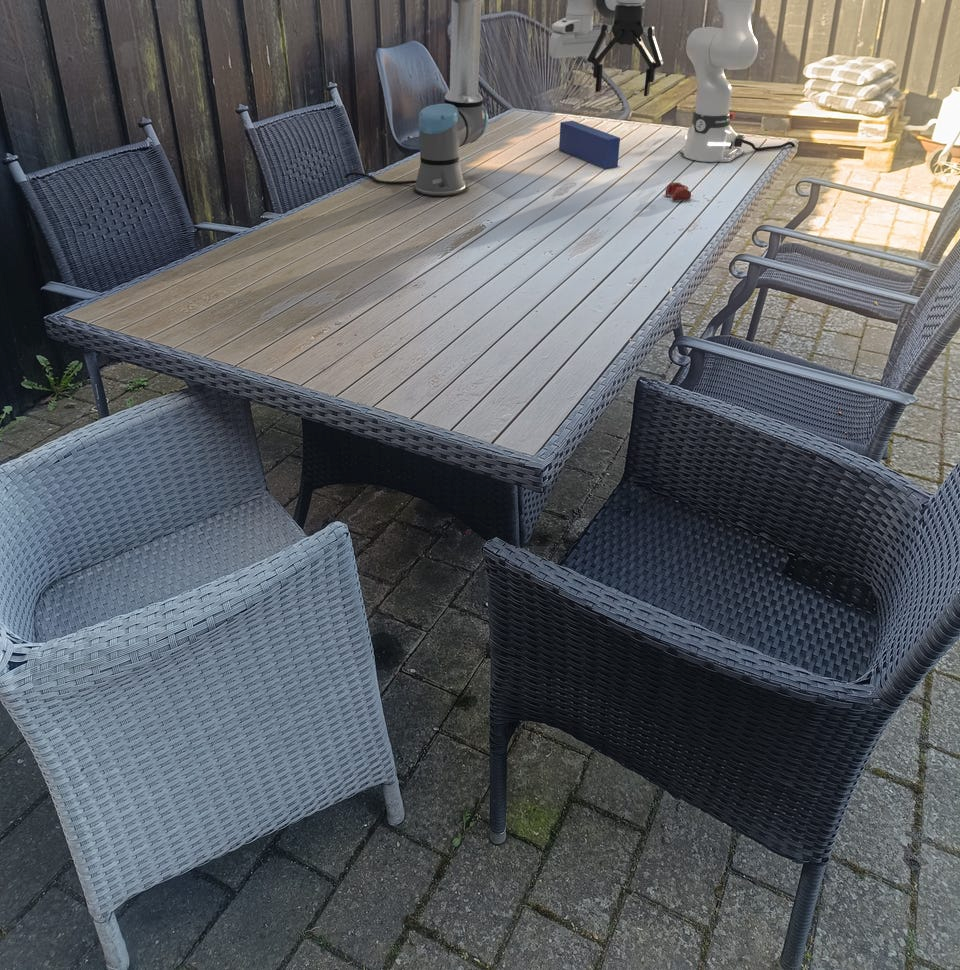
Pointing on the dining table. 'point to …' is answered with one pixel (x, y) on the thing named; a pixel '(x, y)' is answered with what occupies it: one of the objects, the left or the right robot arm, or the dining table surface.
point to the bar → (589, 144)
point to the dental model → (678, 191)
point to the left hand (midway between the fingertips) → (622, 93)
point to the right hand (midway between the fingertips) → (576, 71)
